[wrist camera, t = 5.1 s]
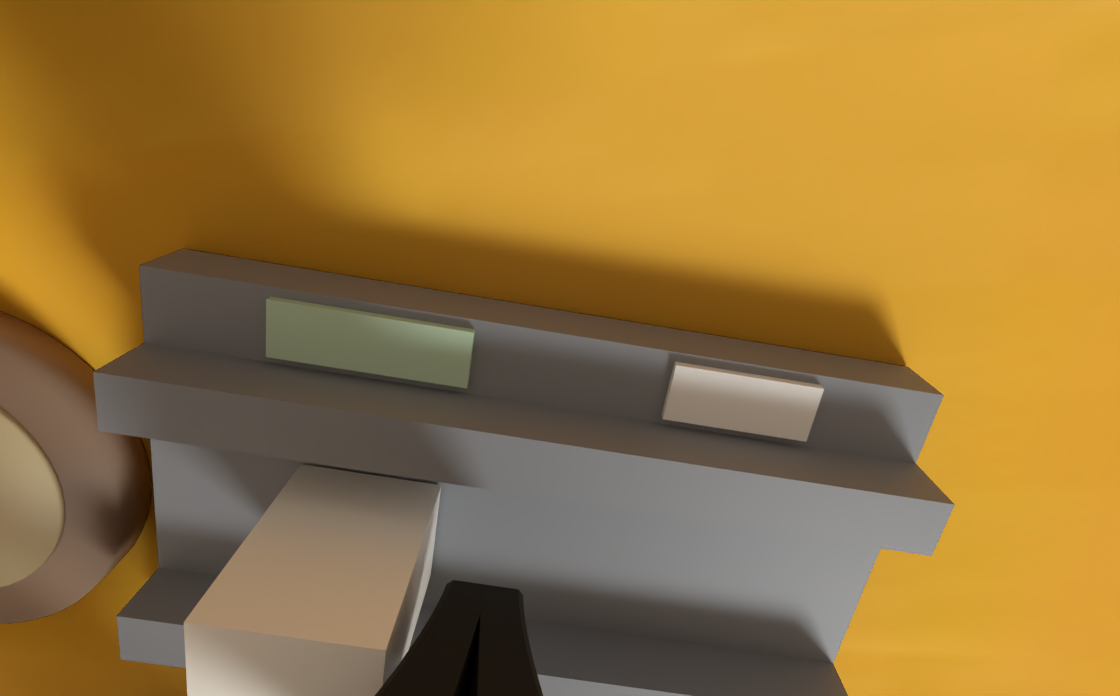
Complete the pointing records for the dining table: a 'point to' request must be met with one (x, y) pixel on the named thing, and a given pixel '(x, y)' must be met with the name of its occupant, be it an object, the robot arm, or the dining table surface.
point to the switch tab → (317, 590)
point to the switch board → (534, 466)
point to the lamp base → (59, 479)
